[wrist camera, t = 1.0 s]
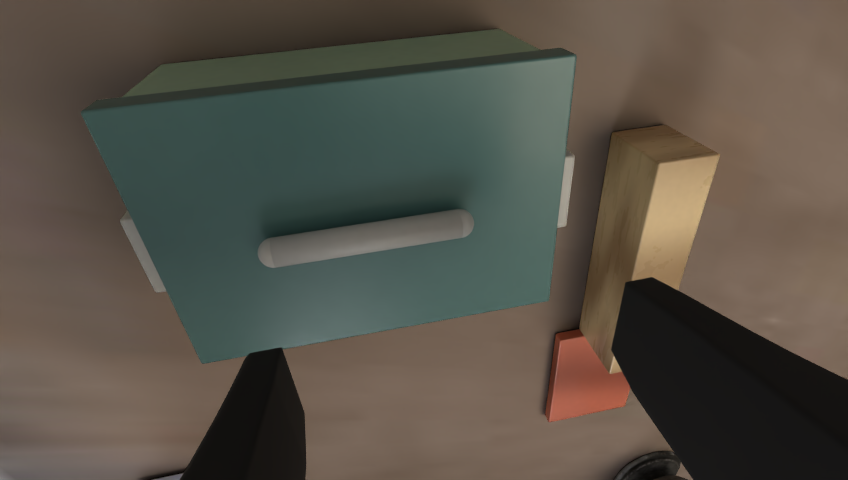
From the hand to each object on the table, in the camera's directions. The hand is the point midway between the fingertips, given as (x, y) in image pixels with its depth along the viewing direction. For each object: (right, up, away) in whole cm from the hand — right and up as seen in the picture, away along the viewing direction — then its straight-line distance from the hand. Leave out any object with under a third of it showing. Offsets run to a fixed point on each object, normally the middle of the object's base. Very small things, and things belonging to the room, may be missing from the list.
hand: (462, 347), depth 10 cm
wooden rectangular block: (+9, -1, +14) cm, 17 cm away
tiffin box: (-3, +5, +7) cm, 10 cm away
